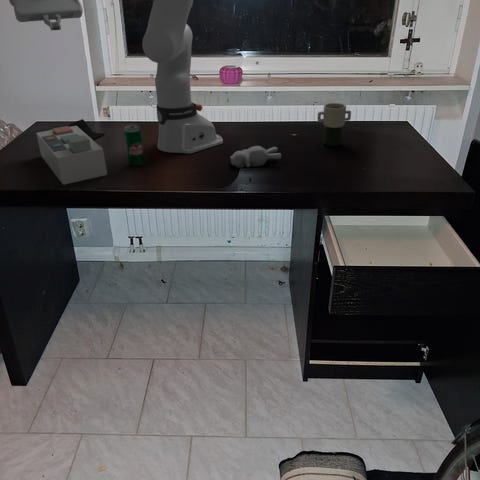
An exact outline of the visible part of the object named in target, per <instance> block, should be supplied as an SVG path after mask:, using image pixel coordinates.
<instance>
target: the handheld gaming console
mask: <svg viewBox="0 0 480 480" xmlns="http://www.w3.org/2000/svg"><path fill="white" fill-rule="evenodd" d="M65 126H69V127H72V126H77V127H79V128H80V129H81V130H82V131H83V132H84V133H85V134H87V135H88V136H89V137H90V138H91V139H92V140H93V141H94V142H95V141H97V140H99V139H101V138H102V137H104V136H105V133H102V132H96V131H95V132H94V131H92V129H91V128H90V126H89V125H88V124H87V123H86V121H85V119H83V118H81V119H79V120H76V121H75V122H72V123H70V124H66V125H65ZM65 126H63V127H65Z"/></svg>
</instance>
